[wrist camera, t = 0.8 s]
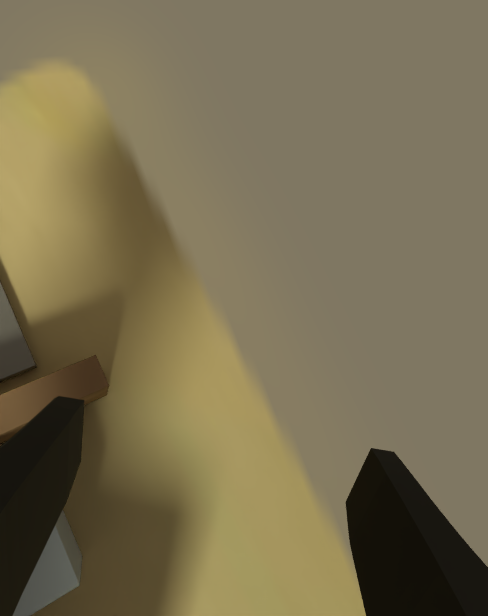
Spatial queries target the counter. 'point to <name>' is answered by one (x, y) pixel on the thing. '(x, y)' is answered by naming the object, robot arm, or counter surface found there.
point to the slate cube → (52, 570)
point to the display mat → (12, 343)
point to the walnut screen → (50, 394)
